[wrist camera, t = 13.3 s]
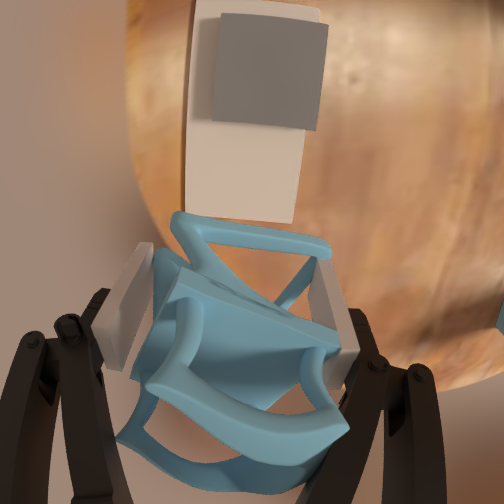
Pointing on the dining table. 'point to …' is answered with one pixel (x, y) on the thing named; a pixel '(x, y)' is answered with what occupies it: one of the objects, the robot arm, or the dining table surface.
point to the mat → (237, 133)
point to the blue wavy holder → (500, 320)
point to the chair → (234, 362)
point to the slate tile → (269, 70)
